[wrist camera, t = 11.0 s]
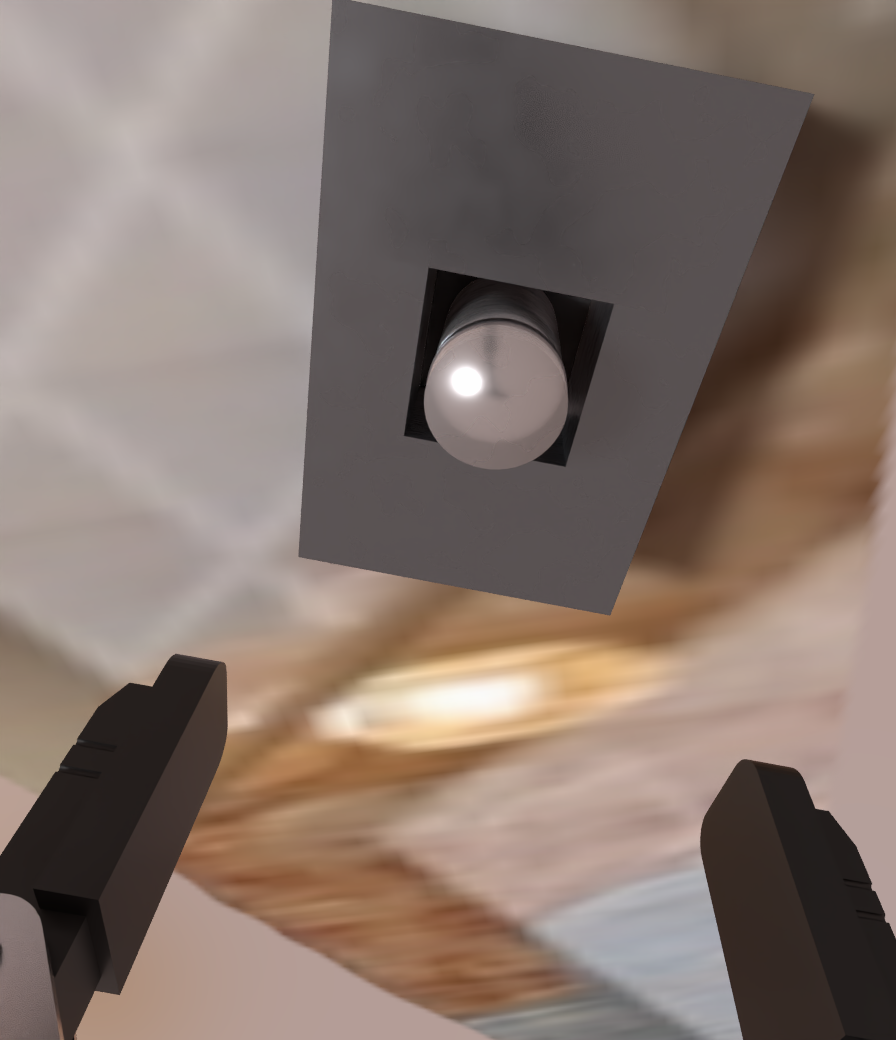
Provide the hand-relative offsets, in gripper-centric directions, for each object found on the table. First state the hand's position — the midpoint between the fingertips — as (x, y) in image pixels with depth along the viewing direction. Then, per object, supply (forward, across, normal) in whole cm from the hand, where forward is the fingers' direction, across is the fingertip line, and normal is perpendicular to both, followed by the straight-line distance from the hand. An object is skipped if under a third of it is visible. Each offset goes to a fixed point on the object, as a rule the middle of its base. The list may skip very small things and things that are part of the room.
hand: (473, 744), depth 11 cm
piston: (+22, 0, +1) cm, 22 cm away
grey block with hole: (+22, 0, 0) cm, 22 cm away
